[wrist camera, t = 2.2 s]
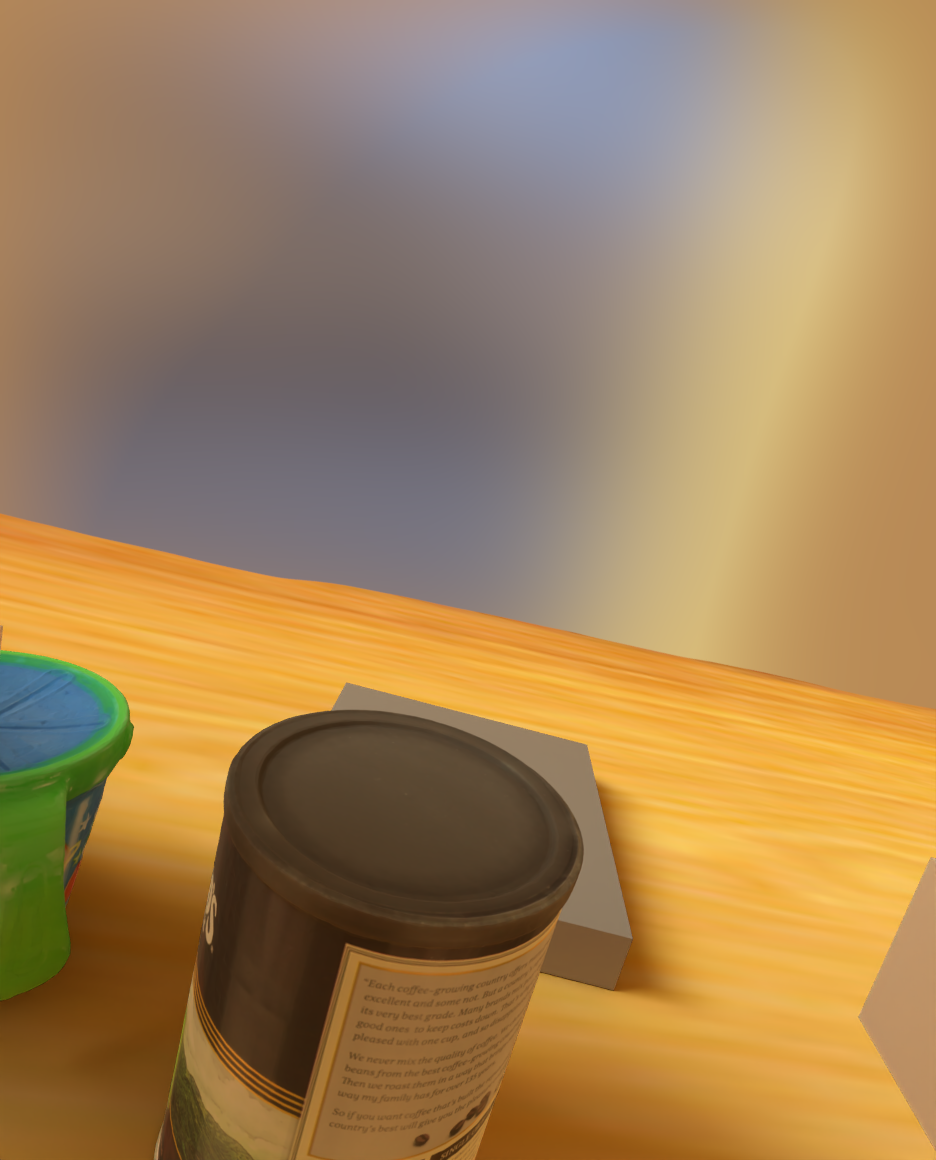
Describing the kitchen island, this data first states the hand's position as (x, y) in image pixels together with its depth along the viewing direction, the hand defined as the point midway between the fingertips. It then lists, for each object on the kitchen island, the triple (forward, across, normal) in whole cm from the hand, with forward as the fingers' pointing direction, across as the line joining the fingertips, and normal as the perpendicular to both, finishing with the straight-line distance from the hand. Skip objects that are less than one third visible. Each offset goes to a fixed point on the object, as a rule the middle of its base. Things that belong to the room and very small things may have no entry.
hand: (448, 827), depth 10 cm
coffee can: (+10, -1, -20) cm, 22 cm away
